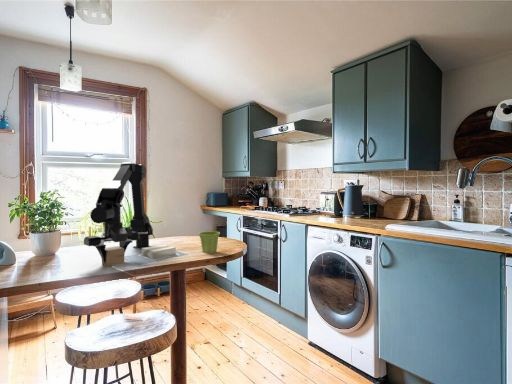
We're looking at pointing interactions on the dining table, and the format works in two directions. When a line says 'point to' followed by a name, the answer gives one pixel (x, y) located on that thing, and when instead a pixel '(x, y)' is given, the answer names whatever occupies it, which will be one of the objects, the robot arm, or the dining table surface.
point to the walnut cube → (113, 256)
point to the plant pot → (209, 241)
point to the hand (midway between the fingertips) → (113, 260)
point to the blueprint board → (143, 259)
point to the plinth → (158, 251)
